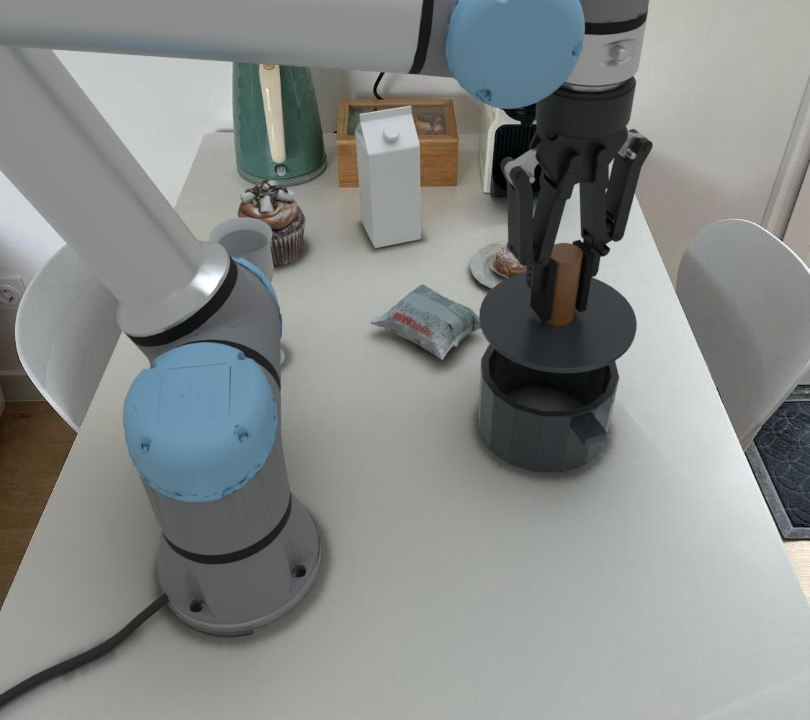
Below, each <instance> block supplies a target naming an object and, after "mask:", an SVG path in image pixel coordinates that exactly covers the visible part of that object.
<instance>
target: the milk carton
mask: <svg viewBox="0 0 810 720" xmlns="http://www.w3.org/2000/svg"><path fill="white" fill-rule="evenodd" d="M354 136H355V149H356V162H357V175H358V188H359V189H358V191H359V202H360V204H359V205H360V217H361V223H362V226H363V228H364V230H365V232H366V234H367V236H368V239H369V240H370V242H371V244H372V246H373V248H374V249H379V248H383V247H388V246H393V245H399V244H403V243H408V242H414V241H418V240H421V239H422V206H421V205H422V199H421V198H422V197H421V147H420V146H421V144H420V141H419V140H420V139H419V135H418V133H417V128H416V126H415V121H414V118H413V111H412V105H406V106H401V107H395V108H388V109H382V110H376V111H371V112H370V111H368V112H364V113H359V122H358V124H357V127H356V128H355V130H354Z"/></svg>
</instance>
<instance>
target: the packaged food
mask: <svg viewBox="0 0 810 720" xmlns="http://www.w3.org/2000/svg"><path fill="white" fill-rule="evenodd" d="M369 323H370V324H371V325H374V326H376V327H378V328H384V329H385V330H386V331H388V332H390V333H393V334H394V335H397V336H399V337H401V338H403V339H406V340H408V341H410V342H412V343H414V344H416V345H418V346H419V347H420V348H423V350H426V351H427V352H429V353H430V354H432V355H433V356H435V357H437V358H439V359H440V360H441V361H444V359H445V358H446V356H447V354H448V353H449V352H450V351H451V349H452V348H453V347H458V346H459V344H460V342H462V341H463V340H464V339H465V338H466V336H467V335H471V333H476V331H478V330H481V327H480V322H479V315H477V313H476V312H474V310H473V309H472V308H471V307H468V306H467V305H463V304H461V303H458V302H457V301H453V300H451V299H450V298H448V297H446V296H444V295H442V294H440V293H439V292H437V291H435V290H433V289H432V288H430V287H428V286H427V285H425V284H421V285H419V286H417V287H416V288H415V289H413V290H411V291H409V292H408V293H407V295H405V296H404V297H403V298H402V299H400V300H399V301H398V302H397V303H396V304H394V305H393V306H392V307H391V308H390V309H389V310H388V311H387V312H385V313H383V314H381V315H378V316H376V317H374V318H372V319H370V322H369Z"/></svg>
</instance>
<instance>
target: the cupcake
mask: <svg viewBox="0 0 810 720" xmlns="http://www.w3.org/2000/svg"><path fill="white" fill-rule="evenodd" d="M294 196H295V193H294V191H293V190H290V189H288V187H287V186H284V185H281V186H279V187H278V185H275V183H274V181H270V179H269V178H266V179H264V180H263V179H262V180H261V181H260V182H258V183H256V184H255V185H254V187H252V188H246V189H245V191H243V192H242V193H241V194H239V197H240V201H241V202H240V204H239V206H238V209H237V216H238V217H237V218H255V219H259V220H261V221H263V222H266V223H267V224H268V225H269V226H270V227H271V230H272V232H273V233H272V239H271V241H270V248H271V254H272V260H273V266H274V267H280V266H285V265H288V264H291V263H293V262H295V261H296V260H297V259H298V258H299V257H300V256H301V255H302V254H303V249H304V237H305V236H304V235H305V234H304V233H305V228H306V220H307V219H306V216H305V214H304V212H303V210H302V208H301V207H300V206H299V205H298V203H297V201H296V200H295V199H294Z"/></svg>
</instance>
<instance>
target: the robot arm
mask: <svg viewBox="0 0 810 720" xmlns="http://www.w3.org/2000/svg"><path fill="white" fill-rule="evenodd" d="M649 4H650V0H0V172H1V173H2V174H3V175H4V176H5V177H6V178H7V179H8V180H9V182H10V183H11V184H12V185H13V186H14V187H15V189H17V191H18V192H19V193H20V194H21V195H22V196H23V197H24V199H26V200H27V201H28V203H29V204H30V205H31V206H32V207H33V208H34V209H35V211H36V212H38V214H39V215H40V216H41V217H42V218H43V219H44V220H45V221H46V223H47V224H48V225H49V226H50V227H51V228H52V229H53V230H54V231H55V233H56V234H57V235H58V236H59V237H60V238H61V239H62V240H63V241H64V242H65V243H66V245H67V246H68V247H69V248H70V249H71V250H72V251H73V253H75V254H76V256H78V258H79V259H80V260H81V261H82V263H84V264H85V265H86V267H87V268H88V269H89V270H90V271H91V272H92V273H93V274H94V276H96V278H97V279H98V280H99V281H100V282H101V283H102V284H103V285H104V287H106V289H107V290H108V291H109V292H110V293H111V294H112V295H113V297H115V298H116V300H117V301H118V303H117V309H116V314H115V317H116V318H115V320H116V323H117V326H118V327H119V329H120V331H122V332H123V333H124V334H125V335H126V337H128V338H129V340H130V341H131V342H132V343H133V344H134V345H135V346H136V347H137V348H138V349H139V350H140V352H142V354H143V355H144V356H145V357H146V358H147V361H148V362H149V368H143V369H142V370H140V372H139V373H138V374H137V375H136V376H135V378H134V379H133V381H132V383H131V384H130V386H129V388H128V390H127V393H126V396H125V398H124V402H123V410H122V424H123V425H122V426H123V430H124V439H125V443H126V446H127V449H128V450H127V451H128V456H129V459H130V460H131V462H132V465H133V467H134V468H135V469H136V471H137V473H138V476H139V479H140V481H141V484H142V486H143V489H144V491H145V494H146V496H147V498H148V501H149V503H150V506H151V509H152V511H153V513H154V516H155V518H156V521H157V523H158V526H159V528H160V531H161V534H160V541H159V549H158V555H157V562H156V574H157V580H158V581H157V582H158V584H159V588H160V590H161V593H162V595H160V596H158V597H157V598H156V599H155V600H154V601H153V602H152V603H150V604H149V605H148V606H147V607H146V608H144V609H142V611H141V612H139V614H137V615H136V616H135V617H133V619H131V620H130V621H129V622H128V623H127V624H126V625H125V626H124V627H122V629H120V630H119V631H118V632H117V633H115V634H114V635H112V636H111V637H109V638H108V639H106V640H105V641H103V642H101V643H100V644H98V645H96V646H94V647H92V648H90V649H89V650H87V651H85V652H84V651H83V652H82V653H80V654H78V655H75V656H73V657H71V658H69V659H66V660H64V661H61V662H59V663H57V664H55V665H52V666H50V667H47V668H46V669H44V670H41V671H39V672H37V673H35V674H33V675H31V676H30V677H28V678H26V679H24V680H22V681H20V682H19V683H17V684H16V685H14V686H12V687H10V688H9V689H7V690H6V691H4V692H2V693H1V694H0V708H1V707H3V706H4V705H6V704H8V703H9V702H11V701H12V700H14V699H15V698H17V697H19V696H20V695H22V694H23V693H25V692H27V691H29V690H31V689H32V688H34V687H36V686H38V685H40V684H41V683H44V682H46V681H48V680H50V679H52V678H54V677H57V676H59V675H61V674H63V673H66V672H68V671H70V670H73V669H75V668H77V667H80V666H82V665H85V664H86V663H89V662H91V661H93V660H94V659H96V658H98V657H100V656H102V655H103V654H105V653H107V652H109V651H111V650H112V649H114V648H115V647H117V646H119V645H120V644H121V643H123V642H124V641H125V640H127V638H128V637H130V636H131V635H132V634H133V633H134V632H135V631H137V629H138V628H140V626H142V625H143V624H144V623H145V622H146V621H148V620H149V619H150V618H151V617H152V616H154V614H156V613H158V611H160V610H161V609H162V608H163V607H164V606H166V605H168V607H169V608H170V610H171V611H172V613H173V614H174V615H175V616H176V617H177V619H179V620H180V621H181V622H182V623H184V624H186V625H187V626H189V627H191V628H192V629H194V630H197V631H199V632H201V633H206V634H210V635H214V636H224V637H227V636H240V635H241V636H242V635H248V634H251V633H254V632H255V631H256V630H260V629H263V628H264V627H267V626H270V625H271V624H274V623H275V622H277V621H279V620H280V619H282V618H284V617H285V616H287V614H289V613H291V612H292V611H293V610H294V609H296V607H297V606H299V604H301V602H302V601H303V600H304V599H305V598H306V596H307V595H308V593H309V592H310V590H311V589H312V587H313V586H314V583H315V581H316V579H317V577H318V574H319V571H320V568H321V567H320V566H321V561H322V548H321V542H320V535H319V530H318V528H317V525H316V522H315V521H314V519H313V517H312V515H311V514H310V512H309V511H308V510H307V509H306V508H305V507H304V505H303V504H302V503H301V502H300V501H299V500H298V498H297V497H296V496H295V495H294V494H293V492H292V491H291V489H290V487H291V486H290V482H289V476H288V471H287V465H286V461H285V455H284V449H283V439H282V438H283V437H282V396H281V393H282V392H281V390H282V365H281V349H282V348H281V344H282V343H281V341H282V337H283V316H282V313H281V307H280V304H279V300H278V295H277V293H276V290H275V288H274V286H273V285H272V282H271V283H270V281H269V280H268V278H267V277H266V276H265V275H264V274H263V273H262V272H261V271H260V270H259V269H258V268H257V267H256V266H255V265H253V264H252V263H250V262H249V261H247V260H245V259H243V258H239V259H236V258H233V257H231V255H230V254H229V253H228V252H227V250H226V249H225V248H224V247H223V246H222V245H220V244H219V243H216V242H212V241H209V240H198V238H196V236H195V235H194V233H193V231H191V230H190V228H189V227H188V226H187V224H186V222H184V220H183V219H182V218H181V216H180V215H179V214H178V213H177V211H176V210H175V208H174V207H173V206H172V205H171V203H170V202H169V201H168V199H167V198H166V197H165V195H164V194H163V193H162V192H161V190H160V189H159V187H158V186H157V185H156V184H155V182H154V181H153V179H152V178H151V177H150V176H149V175H148V173H147V172H146V171H145V169H144V168H143V167H142V166H141V164H140V163H139V161H138V160H137V159H136V157H134V155H133V154H132V153H131V151H130V149H128V147H127V146H126V145H125V143H124V142H123V140H122V139H121V137H119V135H118V134H117V133H116V132H115V130H114V129H113V128H112V126H111V124H109V122H108V121H107V120H106V118H104V116H103V115H102V114H101V112H100V110H99V109H98V108H97V107H96V105H95V104H94V103H93V101H92V100H91V99H90V98H89V96H88V94H87V93H85V91H84V89H83V88H82V87H81V86H80V84H79V83H78V82H77V80H76V79H75V78H74V76H72V74H71V73H70V71H69V70H68V68H66V66H65V64H64V63H62V61H61V60H60V59H59V57H58V56H57V54H56V53H55V52H54V51H67V52H68V51H69V52H80V53H81V52H83V53H98V54H110V55H111V54H112V55H127V56H140V57H141V56H142V57H153V58H154V57H155V58H168V59H169V58H170V59H185V60H198V61H215V62H228V63H243V64H256V65H257V64H258V65H271V66H272V65H273V66H286V67H301V68H315V69H317V68H319V69H328V70H329V69H330V70H331V69H332V70H346V71H360V72H361V71H362V72H373V73H374V72H376V73H388V74H389V73H390V74H403V75H417V76H428V77H438V78H450V79H454V80H455V81H457V83H458V84H459V86H460V87H461V88H462V89H463V90H464V91H465V92H466V93H468V94H469V95H470V96H471V97H472V98H473V99H475V100H477V101H479V102H480V103H482V104H484V105H487V106H490V107H492V108H496V109H504V110H512V109H521V108H525V107H528V106H531V105H534V104H535V123H536V129H535V133H534V135H533V137H532V139H531V141H530V144H529V150H528V151H526V152H524V153H523V154H521V155H520V156H518V157H517V158H515V159H514V158H512V157H511V156H505V157H504V158H503V159H501V161H500V164H499V166H500V170H501V171H502V174H503V176H504V178H505V181H506V196H507V197H506V198H507V202H506V203H507V241H508V249H509V251H510V252H511V253H512V254H513V255H514V257H515V258H516V259H517V260H518V261H519V263H520V264H521V265H522V266H527V269H526V280H525V281H526V284H527V285H528V287H529V288H530V289H531V290H532V291H531V302H530V307H531V308H532V309H533V310H534V312H535V313H536V314H537V315H538V317H539V318H540V319H541V320H542V322H547V321H550V318H551V310H552V301H553V293H554V285H555V277H556V268H557V265H556V264H555V262H554V261H553V260H552V259H551V254H552V251H553V247H554V244H556V240H557V237H558V233H559V228H560V226H561V221H562V218H563V214H564V210H565V206H566V204H567V200H571V198H572V195H573V192H574V189H575V188H574V187H575V186H576V185H578V184H579V186H578V187H579V188H578V189H579V215H580V216H579V219H580V221H579V222H580V237H581V239H583V240H581V239H577V240H572V243H571V244H573V245H576V246H578V247H579V248H580V249H581V250H582V252H583V258H582V265H581V272H580V279H579V286H578V292H577V299H576V306H575V308H576V309H577V310H578V311H579V312H582V311H586V308H587V302H588V295H589V289H590V282H591V277H593V278H595V277H597V275H598V273H599V269H600V262H601V258H602V257H606V256H608V254H610V251H611V247H609V245H608V244H609V243H610V242H614V243H617V242H620V241H621V240H622V239H623V238H624V236H625V233H626V228H627V225H628V222H629V217H630V213H631V209H632V206H633V205H632V204H633V202H634V198H635V194H636V190H637V186H638V183H639V179H640V174H641V171H642V167H643V166H644V163H645V162H646V160H647V158H648V156H649V155H650V153H651V152H652V150H653V147H654V146H653V145H654V144H653V142H652V141H651V140H650V139H648V138H647V137H646V136H645V135H644V134H642V133H640V131H638V130H637V129H635V128H631V129H628V127H627V126H628V124H630V120H631V118H632V117H631V116H632V112H633V105H634V99H635V92H636V86H637V80H636V78H635V75H636V74H637V73H638V72H639V67H640V61H641V55H642V49H643V44H644V38H645V33H646V26H647V20H648V19H647V18H648V12H649ZM611 163H612V164H611ZM610 164H611V165H612V166H611V170H610ZM537 166H539V168H540V169H541V172H540V175H539V180H538V181H539V184H540V189H539V192H538V193H539V194H538V197H537V202H536V205H535V208H534V191H533V186H532V184H534V182H535V181H536V178H535V169H536V167H537Z"/></svg>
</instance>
